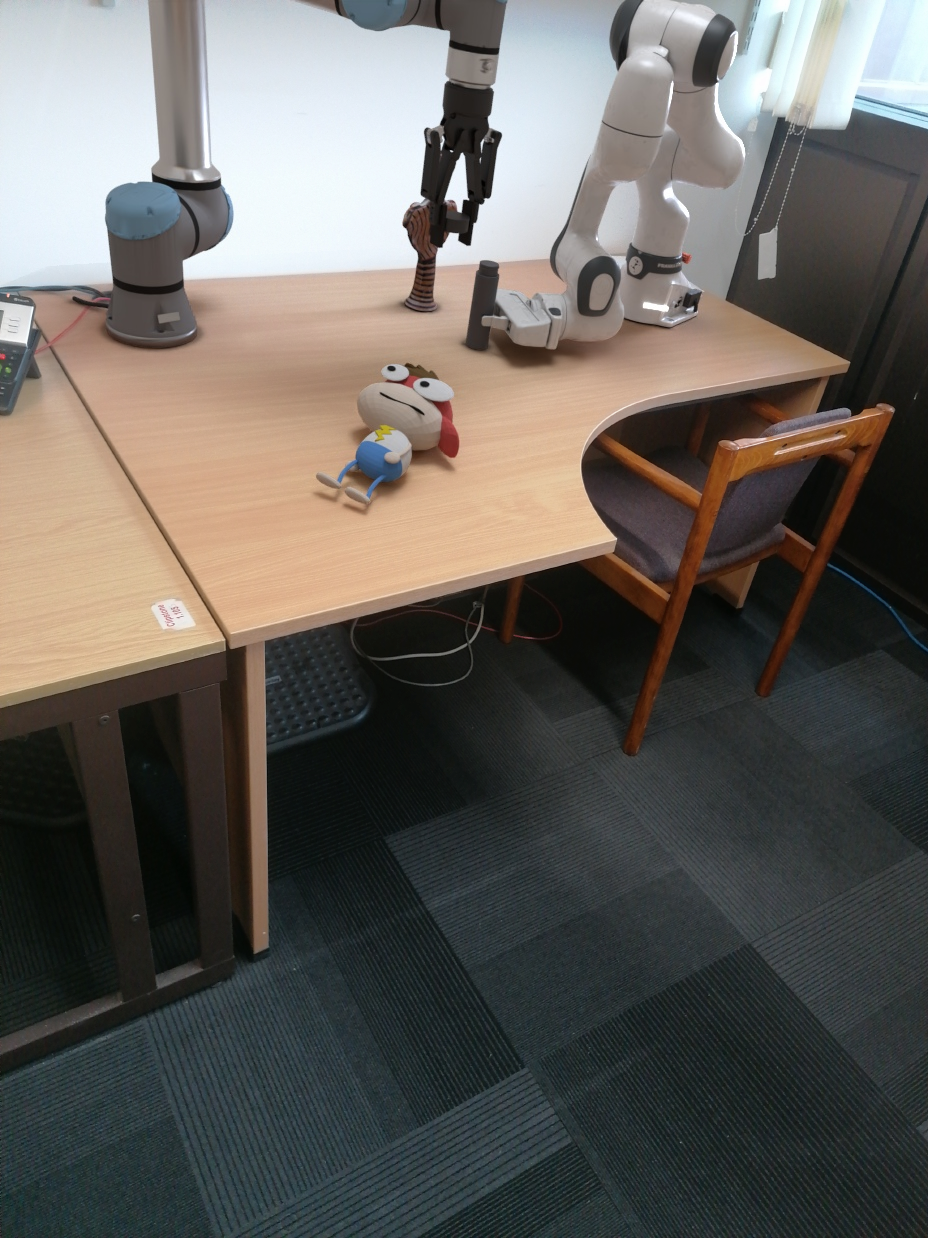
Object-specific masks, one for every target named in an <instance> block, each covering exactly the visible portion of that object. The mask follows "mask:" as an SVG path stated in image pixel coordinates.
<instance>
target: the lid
mask: <svg viewBox="0 0 928 1238" xmlns="http://www.w3.org/2000/svg"><path fill="white" fill-rule="evenodd" d="M461 212H462V211H458V212H456V211H447V215H446V223H445V232H449V234H458V235H459V234H460V233H466V232H468V226H469V219H470V217H469V216H468V215H466V214H464V213H461Z"/></svg>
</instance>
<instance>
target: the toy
mask: <svg viewBox="0 0 928 1238" xmlns="http://www.w3.org/2000/svg"><path fill="white" fill-rule="evenodd" d="M380 371H381V372H380V373H381V376H382V377H383V378H384V379H385V381H381V382H374V383H371V384H369V385H368V386H366V387H365V388H363V389H362V390H361V391H360V393H359V395H358V397H357V399H356V404H357V406H356V407H357V412H358V414H359V417H360V418H361V420H362V422H363V424H365V426H366V427H367V428H368V429H369V430H370V431H371V433H369V434H368V435H367V436H365V438H364V439H362V441H361V442H360V443H359V445H358V447H357V449H356V451H355V457H354V459H353V460H348V461H347V462H345V464H344V465H345V466H344V468H343V469H342V470H341V472H340V473H339V475H338V477H337V479H336V478H334V477H333V476H331V475H330V474H327V473H325V472H322V471H318V472H316V474H315V478H316V480H317V482H318V483H319V482H320V483H321V484H322V485H324V486H326V487H328V488H331V489H334V490H339V489H341V488H342V482H343V479H344V477H345V475H346V474H347V473H348V472H350V473H356V472H358V471H360V472H362V474H364V475H365V476H366V477H368V478H369V479H372V480H374V481H373V482H372V483H371V485H370V486H369V488H368V489H367V492H366V494H365V493H363V492H362V491H360V490H359V489H356V488H354V487H352V486H347V487H345V489H344V493H345V494H344V495H346V496H347V497H348V498H350V499H351V500H353V501H354V502H357V503H360V504H364V505H369V504H371V496H372V494H373V491H374V490H375V488H376V487H377V486H378V485H379V483H389V482H391V483H392V482H394V481H396V480H399V479H400V478H401V477H402V476H403V475H405V473H406V472H407V471H408V469H409V468H410V467H409V466H410V464H411V461H412V457H413V451H428V450H431V449H433V448H434V447H438V448H439V450H440V451H441V452H442V453H443V454H444V455H445V456H446V457H448V458H450V459H455V458H456V457H457V456H458V454H459V449H460V437H459V433H458V430H457V428H456V427H455V425H454V423H453V422H454V421H453V420H454V412H453V407H452V404H451V403H452V402H451V400H452V399H453V398H454V397H455V392H454V390H453V388H452V387H451V386H450V385H448V384H447V383H446V382H444V381H442V380H440V378H439V376H438V375H437V373H436V372H435V371H434V370H433V369H430V370H429V371H428V370H427V369H426V368H424V367H423V366H422V365H421V364H417V365H416V366H415V365H413V363H409V362H406V363H405V364H404V365H403V364H398V363H391V364H386V365H385V366H384V367H382V369H381V370H380Z"/></svg>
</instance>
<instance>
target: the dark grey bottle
mask: <svg viewBox="0 0 928 1238" xmlns="http://www.w3.org/2000/svg"><path fill="white" fill-rule="evenodd" d="M499 269H500V264H499V263H498V262H496V261H494V260H491V259H490V260H489V259H483V260H480V261H479V264H478V269H477V270H476V271H475V277H474V284H473V291H472V296H471V304H470V311H469V318H468V324H467V330H466V338H465V346H466V347H468V349H472V350H476V351H485V350H487V349H488V348H489V342H490V337H491V330H492V327H491V326H483V325H482V324H481V322H480V319H481V315H482V314H490V315H491V316H493V312H494V306H495V300H496V294H497V288H499V283H500V282H499V281H500V273H499Z"/></svg>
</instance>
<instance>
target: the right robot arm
mask: <svg viewBox="0 0 928 1238" xmlns="http://www.w3.org/2000/svg"><path fill="white" fill-rule="evenodd" d="M608 38H609V39H608V41H609V42H608V44H609V50H610V54H611V57H612V60H613V61H614V63H615V69H616V71H617V73H616V76H615V77H614V81H613V83H612V86H611V88H610V91H609V93H608V96H607V99H606V103H605V106H604V109H603V114H602V117H601V121H600V126H599V128H598V133H597V135H596V139H595V143H594V145H593V149H592V152H591V154H590V155H589V157H588V159H587V162H586V163H585V166H584V169H583V172H582V174H581V177H580V180H579V182H578V187H577V189H576V192H575V196H574V199H573V201H572V204H571V208H570V211H569V214H568V217H567V220H566V222H565V224H564V226H563V228H562V230H561V232H560V233H559V234H558V236H557V238H556V239H555V241H554V242H553V244H552V247H551V250H550V254H549V264H550V267H551V270H552V272H553V274H554V275H555V276H556V277H557V278H558V279H560V280H561V281H562V282H563V283H564V284H565V285H566V289H565V291H564V292H563V293H555V292H536V293H534V294H533V296H532V297H531V298H529V297H527V296H526V295H525V294H524V292H521V291H519V290H516V289H507V288H499V287H498V288H497V294H496V300H495V306H494V312H493V316H491V315H490V314H482V315H481V319H480V322H481V324H482V325H483V326H491V328H493V329H497V330H502V331H504V332H505V334H507V336H508V337H509V338H510V339H511V341H512V342H513V343H514V344H516V345H519V346H522V347H523V346H524V347H535V348H536V347H537V348H545V349H546V350H556V349H557V347H558V343H559V341H562V340H571V341H574V342H600V341H606V340H608V339H611V338H614V336H616V335H617V334H618V332H619V331H620V329H621V328H622V325H623V323H624V320H625V319H627V320H630V321H634V322H637V323H642V324H649V325H657V326H661V327H665V328H672V327H675V326H677V325H679V324H682V323H684V322H685V321H688V320H690V319H692V318H695V317H696V316H698V313H699V311H698V309H699V303H700V300H701V297H702V293H703V291H702V290H701V289H698V288H693V286H692V285H691V283H690V282H689V280H688V278H687V277H686V276H685V274H684V273H683V271H682V270H683V263H684V264H686V265H688V264H690V262H691V260H692V255H691V254H689V253H686V252H685V251H684V252H682V251H683V248H684V245H685V240H686V237H687V234H688V230H689V227H690V224H691V223H690V222H691V217H690V216H691V215H690V213H689V211H688V209H687V207H686V206H685V204H683V202H682V201H680V200H679V199H678V197H676V195H675V193H674V190H673V182H675V183H678V184H682V185H686V186H689V187H693V188H697V189H700V190H701V189H702V190H716V191H717V190H719V191H720V190H721V191H723V190H724V191H725V190H726V189H728V188H730V187H731V186H732V185H733V184H734V183H735V182H736V181H737V180H738V178H739V177H740V175H741V174H742V172H743V169H744V166H745V162H746V151H745V147H744V144H743V143H744V142H743V140H742V139H741V138H739V137H738V136H737V135H736V134H735V132H733V131H732V130H731V129H730V127H729V126H728V125H727V123H726V121H725V119H724V117H723V115H722V113H721V110H720V107H719V101H718V100H719V99H718V96H719V93H718V92H719V83H720V82H721V81H723V79H724V78H725V77H726V75H727V73H728V72H729V70H730V69H731V67H732V64H733V62H734V59H735V57H736V53H737V49H738V46H737V45H738V41H739V33H738V30H737V28H736V25H735V23H734V22H733V21H732V20H731V19H730V18H728V17H727V16H725V15H723V14H721V13H716V12H715V11H714V10H713V9H712V8H710V7H709V6H707V5H705V4H702V3H701V4H700V3H694V4H691V3H688V2H685V1H683V2H680V1H676V0H624V1H622V2H621V4H620V5H619V6H618V8H617V10H616V11H615V14H614V16H613V19H612V23H611V27H610V31H609V37H608ZM632 182H635V187H636V189H637V196H638V210H637V216H636V222H635V227H634V232H633V237H632V240H631V242H630V243H629V245H628V248H627V250H626V256H625V261H626V262H625V263H624V264H622V265H621V266H620V265H619V263H618V262H617V261H616V259H615V258H614V257H613V256H612V255H611V253H609V251H607V250H606V249H605V248H604V247H603V246H602V245H601V243H600V240H599V234H598V233H599V227H600V225H601V223H602V219H603V216H604V214H605V211H606V207H607V205H608V202H609V199H610V197H611V194H612V192H613V191H614V189H615V188H616V187H617V186H618V185H620V184H629V183H632Z"/></svg>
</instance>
